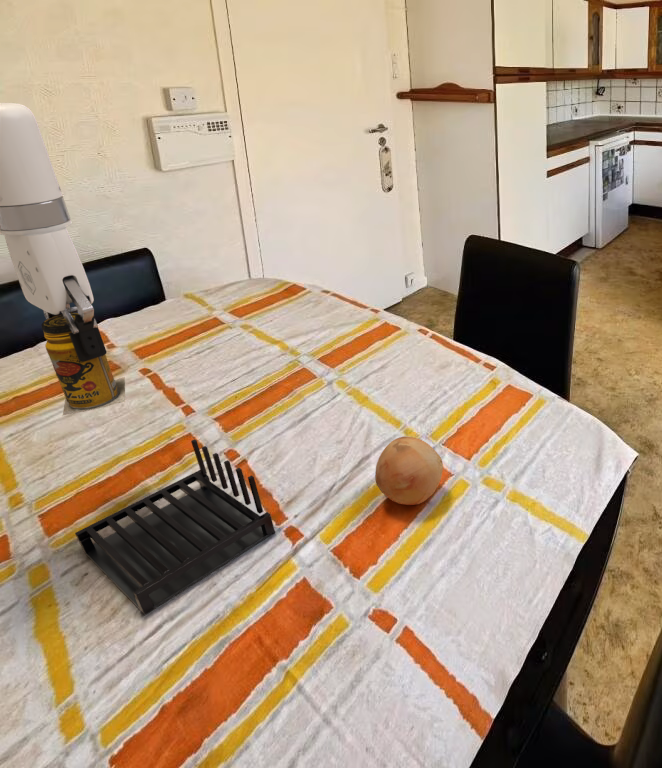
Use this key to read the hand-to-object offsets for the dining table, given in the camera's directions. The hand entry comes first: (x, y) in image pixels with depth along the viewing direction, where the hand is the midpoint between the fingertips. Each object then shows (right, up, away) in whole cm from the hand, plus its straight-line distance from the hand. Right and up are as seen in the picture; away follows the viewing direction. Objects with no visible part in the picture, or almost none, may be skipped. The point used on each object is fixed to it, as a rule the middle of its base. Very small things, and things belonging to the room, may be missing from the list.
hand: (81, 350), depth 83 cm
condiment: (-1, -6, +4) cm, 8 cm away
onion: (+43, -22, +11) cm, 49 cm away
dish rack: (+12, -26, +3) cm, 29 cm away
